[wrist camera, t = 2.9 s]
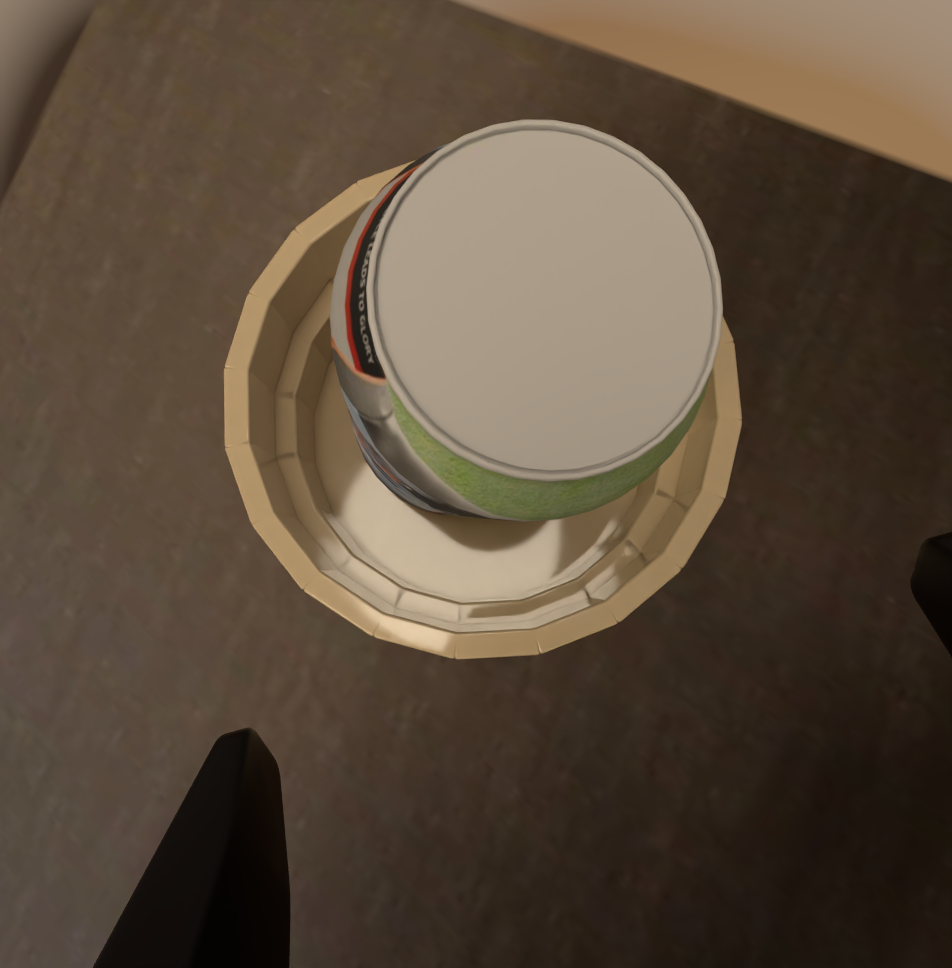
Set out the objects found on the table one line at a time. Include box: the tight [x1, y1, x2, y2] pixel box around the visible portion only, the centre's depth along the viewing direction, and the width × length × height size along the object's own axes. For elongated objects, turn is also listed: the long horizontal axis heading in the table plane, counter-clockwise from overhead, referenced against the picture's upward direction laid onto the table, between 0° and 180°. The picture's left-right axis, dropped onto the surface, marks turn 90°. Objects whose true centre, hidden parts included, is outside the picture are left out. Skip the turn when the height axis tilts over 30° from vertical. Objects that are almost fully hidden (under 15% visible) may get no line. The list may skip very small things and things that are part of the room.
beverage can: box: [330, 120, 723, 522], centre depth 15 cm, size 6×7×12 cm
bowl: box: [224, 160, 742, 659], centre depth 19 cm, size 12×12×5 cm
